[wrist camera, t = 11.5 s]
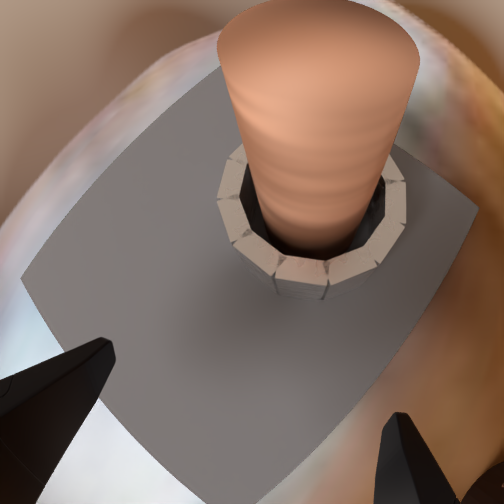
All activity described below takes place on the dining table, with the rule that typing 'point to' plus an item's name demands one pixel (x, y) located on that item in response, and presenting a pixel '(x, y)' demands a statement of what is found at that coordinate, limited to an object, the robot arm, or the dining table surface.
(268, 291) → the charcoal mat
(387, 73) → the terracotta plug
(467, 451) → the dining table surface
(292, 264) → the stone sleeve
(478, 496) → the coffee mug
